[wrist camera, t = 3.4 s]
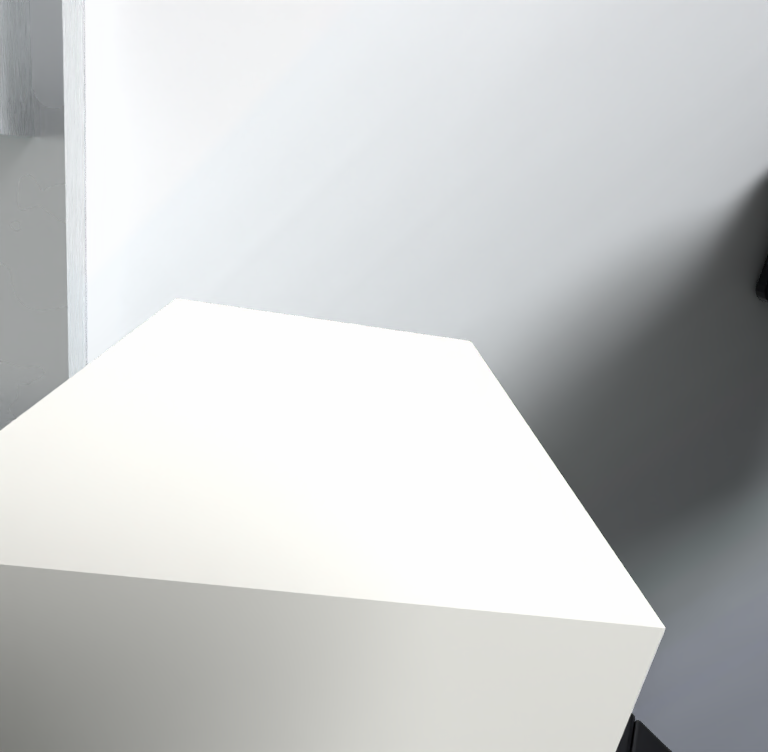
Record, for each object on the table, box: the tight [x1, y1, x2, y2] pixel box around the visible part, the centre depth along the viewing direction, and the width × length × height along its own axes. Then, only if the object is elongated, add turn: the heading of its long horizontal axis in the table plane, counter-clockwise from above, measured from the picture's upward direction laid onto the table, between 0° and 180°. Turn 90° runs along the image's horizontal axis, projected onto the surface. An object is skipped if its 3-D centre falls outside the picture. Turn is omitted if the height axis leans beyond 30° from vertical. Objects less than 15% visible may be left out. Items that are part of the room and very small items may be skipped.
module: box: [0, 298, 666, 752], centre depth 7 cm, size 4×7×6 cm, turn 171°
